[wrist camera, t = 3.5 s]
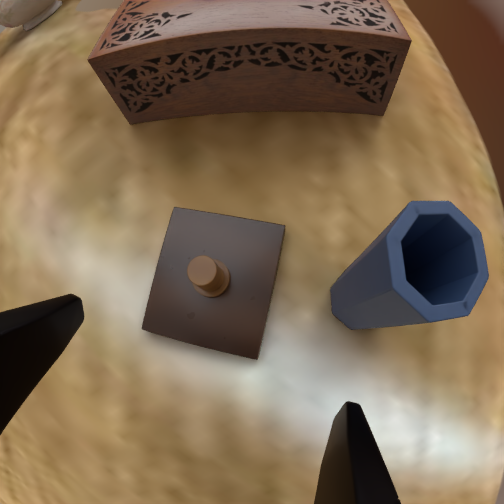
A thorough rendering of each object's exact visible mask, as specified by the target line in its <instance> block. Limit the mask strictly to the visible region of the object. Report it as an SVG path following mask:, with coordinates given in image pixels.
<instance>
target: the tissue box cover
mask: <svg viewBox="0 0 504 504" xmlns="http://www.w3.org/2000/svg"><path fill="white" fill-rule="evenodd" d="M411 41H412V40H411V38H410V37H409V35H408V33H407V31H406V30H405V28H404V26H403V24H402V23H401V21H400V19H399V18H398V16H397V15H396V13H395V11H394V10H393V8H392V7H391V5H390V4H389V2H388V1H387V0H124V1H123V2H122V4H121V5H120V7H119V8H118V10H117V11H116V13H115V14H114V16H113V17H112V19H111V20H110V22H109V23H108V25H107V27H106V28H105V30H104V31H103V33H102V35H101V36H100V38H99V40H98V42H97V43H96V45H95V47H94V49H93V50H92V52H91V54H90V56H89V58H88V59H87V60H88V62H89V63H90V65H91V66H92V68H93V69H94V71H95V72H96V74H97V75H98V77H99V79H100V80H101V82H102V83H103V85H104V86H105V88H106V89H107V91H108V92H109V94H110V95H111V97H112V98H113V100H114V101H115V103H116V104H117V106H118V107H119V109H120V110H121V112H122V113H123V115H124V116H125V118H126V119H127V121H128V122H129V124H135V123H141V122H148V121H155V120H162V119H170V118H178V117H187V116H197V115H207V114H220V113H236V112H258V111H323V112H345V113H360V114H372V115H383V116H384V113H385V111H386V108H387V106H388V103H389V101H390V98H391V96H392V93H393V90H394V88H395V85H396V83H397V80H398V77H399V75H400V72H401V69H402V67H403V64H404V61H405V58H406V56H407V53H408V50H409V47H410V44H411Z"/></svg>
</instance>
